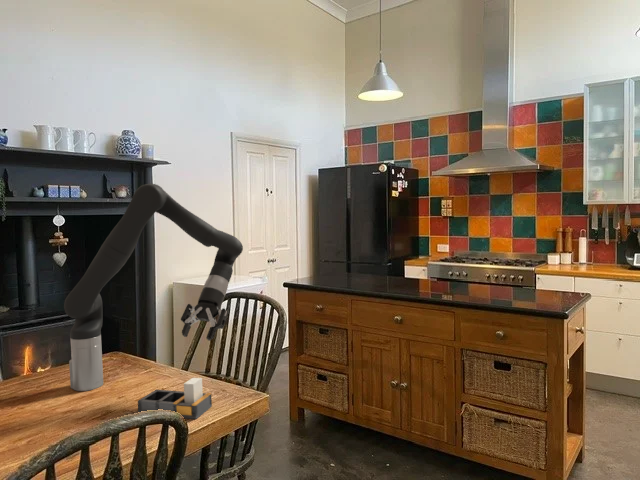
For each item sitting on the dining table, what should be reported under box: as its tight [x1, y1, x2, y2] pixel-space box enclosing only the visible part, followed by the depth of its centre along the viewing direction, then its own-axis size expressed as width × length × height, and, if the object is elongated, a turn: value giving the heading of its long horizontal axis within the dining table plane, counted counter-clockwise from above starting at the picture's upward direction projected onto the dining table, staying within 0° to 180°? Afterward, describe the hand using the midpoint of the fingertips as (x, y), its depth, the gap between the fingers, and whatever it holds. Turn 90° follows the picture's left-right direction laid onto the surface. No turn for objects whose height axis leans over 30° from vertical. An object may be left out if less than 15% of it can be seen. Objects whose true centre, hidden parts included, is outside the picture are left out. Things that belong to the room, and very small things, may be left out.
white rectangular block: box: [183, 377, 204, 404], centre depth 135 cm, size 3×5×8 cm, turn 166°
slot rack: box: [137, 389, 213, 420], centre depth 136 cm, size 19×9×4 cm, turn 75°
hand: (196, 337), depth 145 cm, fingers open, 8 cm apart
